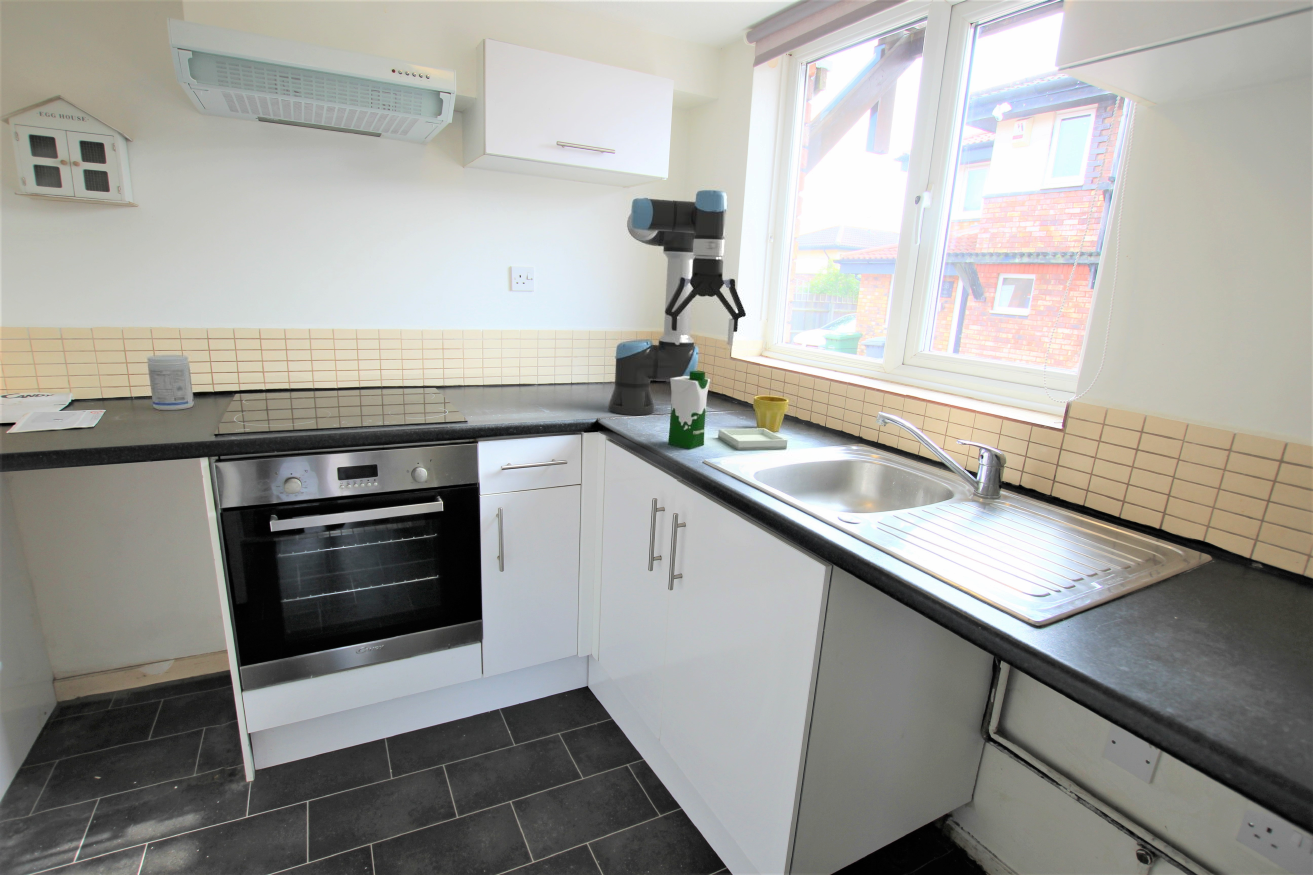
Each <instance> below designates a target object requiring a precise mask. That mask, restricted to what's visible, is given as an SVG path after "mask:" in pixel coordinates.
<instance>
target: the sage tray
mask: <svg viewBox="0 0 1313 875" xmlns="http://www.w3.org/2000/svg"><path fill="white" fill-rule="evenodd" d="M717 431H718V433H717V435H718V436H717V438H718V439H720V440H721V441H722V442H725V443H726V444H728V445H729V446H731V447H732V448H734V449H736V450H737V451H757V450H758V451H760V450H761V451H762V450H764V451H765V450H787V449H788V446H787V445H788V439H786V438H784V437H783V436H781V435H778V434H776V432H771V431H769V430H767V429H765V428H757V427H756V428H752V427H751V428H718V430H717Z"/></svg>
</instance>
